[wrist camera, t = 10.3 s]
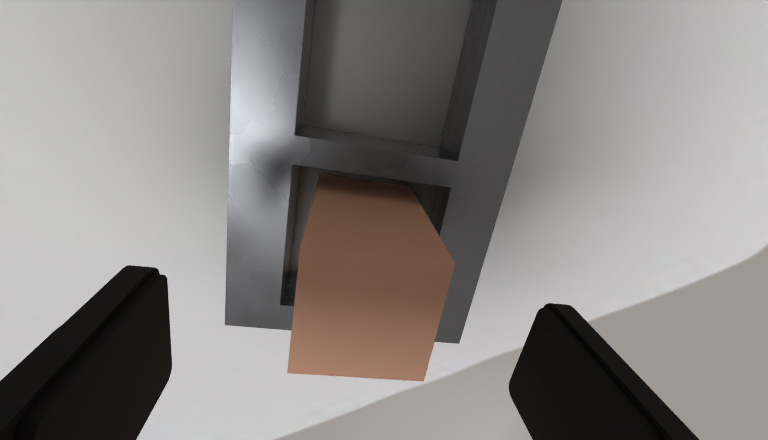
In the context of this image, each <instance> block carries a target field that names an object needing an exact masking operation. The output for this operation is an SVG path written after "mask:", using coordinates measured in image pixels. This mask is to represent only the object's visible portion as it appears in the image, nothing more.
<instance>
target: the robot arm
mask: <svg viewBox="0 0 768 440" xmlns="http://www.w3.org/2000/svg"><path fill="white" fill-rule="evenodd" d="M171 369H172V357H171V339H170V321H169V303H168V285H167V278H166V276H165V275H160V274H159V271H158V269H157V268H152V267H141V266H130V265H129V266H126V267H124V268H123V269H122V270H121V271H120V272H119V273H118V274H116V275H115V276H114V277H113V278H112V279H111V280H110V281H109V282H108V283H107V284H106V285H105V286H104V287H103V288H101V289H100V290H99V291H98V292H97V293H96V294H95V295H94V296H93V297H92V298H91V299H90V300H89V301H88V302H86V303H85V304H84V305H83V306H82V307H81V308H80V309H79V310H78V311H77V312H76V313H75V314H74V315H73V316H71V317H70V318H69V319H68V320H67V321H66V322H65V323H64V324H63V325H62V326H60V327H59V328H57V329H56V330H55V331H54V332H53V333H52V334H51V335H50V336H48V337H47V338H46V339H45V340H44V341H43V342H42V343H41V344H40V345H39V346H38V347H37V348H36V349H34V350H33V351H32V352H31V353H30V354H29V355H28V356H27V357H26V358H25V359H24V360H23V361H22V362H20V363H19V364H18V365H17V366H16V367H15V368H14V369H13V370H12V371H11V372H10V373H9V374H8V375H6V376H5V377H4V378H3V379H2V380H1V381H0V440H136V439H137V437H138V435H139V433H140V431H141V430H142V428H143V426H144V424H145V422H146V421H147V419H148V417H149V415H150V413H151V411H152V410H153V408H154V406H155V404H156V402H157V400H158V399H159V397H160V395H161V393H162V391H163V389H164V388H165V386H166V384H167V382H168V380H169V377H170V374H171ZM509 392H510V396H511V398H512V400H513V402H514V404H515V406H516V408H517V410H518V412H519V414H520V416H521V418H522V419H523V421H524V423H525V425H526V427H527V429H528V431H529V433H530V435H531V437H532V439H533V440H699V439H698V438H697V437H696V436H695V435H694V434H693V433H692V432H691V430H689V428H688V427H687V426H686V425H685V424H684V423H683V422H682V421H681V420H680V419H679V418H678V417H677V416H676V415H675V414H674V413H673V412H672V411H671V410H670V409H669V407H668V406H667V405H666V404H665V403H664V402H663V401H662V400H661V399H660V398H659V397H658V396H657V395H656V394H655V393H654V392H653V391H652V390H651V389H650V387H649V386H648V385H647V384H646V383H645V382H644V381H643V380H642V379H641V378H640V377H639V376H638V375H637V374H636V373H635V372H634V371H633V370H632V369H631V368H630V367H629V365H628V364H627V363H625V361H624V360H623V359H622V358H621V357H620V356H619V355H618V354H617V353H616V352H615V351H614V350H613V349H612V348H611V347H610V346H609V345H608V344H607V342H606V341H605V340H604V339H603V338H602V337H601V336H600V335H599V334H598V333H597V332H596V331H595V330H594V329H593V328H592V327H591V326H590V325H589V324H588V322H587V321H586V320H585V319H584V318H583V317H582V316H581V315H580V314H579V313H578V312H577V311H576V310H575V309H574V308H573V307H572V306H570V305H563V304H552V303H549V304H546V305H545V306H544V307H543V308H541V309H540V310H539V311H538V313H537V315H536V317H535V320H534V322H533V325H532V327H531V330H530V332H529V335H528V337H527V340H526V342H525V345H524V347H523V350H522V352H521V354H520V357H519V359H518V362H517V364H516V367H515V369H514V372H513V374H512V377H511V379H510V382H509Z"/></svg>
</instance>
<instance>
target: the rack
mask: <svg viewBox="0 0 768 440" xmlns="http://www.w3.org/2000/svg"><path fill="white" fill-rule="evenodd" d="M561 3H562V0H473V4H472V8H471V13H470V17H469V21H468V26H467V30H466V35H465V39H464V44H463V48H462V52H461V57H460V61H459V66H458V70H457V74H456V79H455V83H454V88H453V92H452V97H451V101H450V105H449V110H448V114H447V119H446V123H445V128H444V132H443V136H442V141H441V145H440V148H438V147H432V146H426V145H420V144H413V143H407V142H401V141H395V140H389V139H383V138H377V137H370V136H364V135H358V134H352V133H346V132H340V131H334V130H327V129H321V128H315V127H309V126H303V125H304V114H305V103H306V93H307V82H308V71H309V61H310V50H311V39H312V29H313V18H314V7H315V0H233V23H232V64H231V104H230V144H229V184H228V224H227V264H226V304H225V325H231V326H244V327H257V328H269V329H282V330H292V322H293V312H294V302H295V292H296V282H297V272H290V263H291V253H292V242H293V231H294V221H295V210H296V199H297V189H298V178H299V167H300V165H301V166H308V167H314V168H321V169H328V170H335V171H342V172H348V173H355V174H362V175H369V176H376V177H383V178H389V179H396V180H403V181H410V182H417V183H424V184H430V185H431V189H430V194H429V198H428V203H427V207H426V214H427V216H428V218H429V219H430V221H431V223H432V224H433V226H434V228H435V230H436V231H437V233H438V235H439V236H440V238H441V240H442V241H443V243H444V245H445V247H446V248H447V250H448V252H449V253H450V255H451V257H452V259H453V260H454V262H455V267H454V270H453V274H452V278H451V281H450V285H449V289H448V293H447V296H446V300H445V304H444V308H443V311H442V315H441V319H440V322H439V326H438V330H437V334H436V337H435V341H434V342H446V343H459V342H460V339H461V336H462V332H463V329H464V326H465V322H466V319H467V316H468V312H469V309H470V306H471V302H472V299H473V296H474V292H475V289H476V286H477V282H478V279H479V276H480V272H481V269H482V266H483V262H484V259H485V256H486V252H487V249H488V246H489V242H490V239H491V236H492V232H493V229H494V226H495V222H496V219H497V216H498V212H499V209H500V206H501V202H502V199H503V196H504V192H505V189H506V186H507V183H508V179H509V176H510V173H511V169H512V166H513V163H514V159H515V156H516V153H517V149H518V146H519V143H520V139H521V136H522V133H523V129H524V126H525V123H526V119H527V116H528V113H529V109H530V106H531V103H532V99H533V96H534V93H535V89H536V86H537V83H538V79H539V76H540V73H541V69H542V66H543V63H544V59H545V56H546V53H547V49H548V46H549V43H550V39H551V36H552V33H553V30H554V26H555V23H556V20H557V16H558V13H559V10H560V6H561Z"/></svg>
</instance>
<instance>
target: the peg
mask: <svg viewBox="0 0 768 440" xmlns="http://www.w3.org/2000/svg"><path fill="white" fill-rule="evenodd" d="M454 267H455V262H454V260H453V259H452V257H451V255H450V253H449V252H448V250H447V248H446V247H445V245H444V243H443V241H442V240H441V238H440V236H439V235H438V233H437V231H436V230H435V228H434V226H433V224H432V223H431V221H430V219H429V218H428V216H427V214H426V212H425V211H424V209H423V207H422V206H421V204H420V202H419V201H418V199H417V197H416V195H415V194H414V192H413V190H412V189H411V187H410V186H403V185H396V184H389V183H382V182H375V181H368V180H361V179H354V178H347V177H340V176H333V175H326V174H320V176H319V180H318V184H317V187H316V191H315V194H314V198H313V202H312V205H311V209H310V212H309V216H308V219H307V223H306V227H305V230H304V234H303V237H302V241H301V245H300V252H299V262H298V272H297V282H296V292H295V302H294V312H293V322H292V332H291V342H290V352H289V362H288V372H287V373H294V374H311V375H328V376H344V377H361V378H377V379H394V380H411V381H424V378H425V375H426V371H427V367H428V363H429V360H430V356H431V352H432V349H433V345H434V341H435V337H436V334H437V330H438V326H439V322H440V319H441V315H442V311H443V308H444V304H445V300H446V296H447V293H448V289H449V285H450V281H451V278H452V274H453V270H454Z"/></svg>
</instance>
